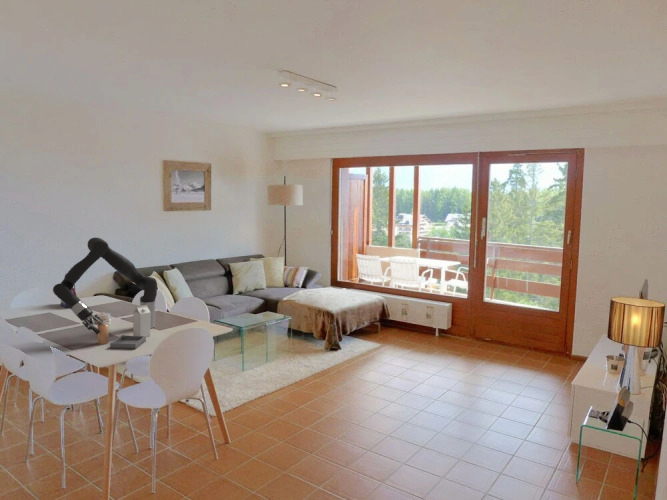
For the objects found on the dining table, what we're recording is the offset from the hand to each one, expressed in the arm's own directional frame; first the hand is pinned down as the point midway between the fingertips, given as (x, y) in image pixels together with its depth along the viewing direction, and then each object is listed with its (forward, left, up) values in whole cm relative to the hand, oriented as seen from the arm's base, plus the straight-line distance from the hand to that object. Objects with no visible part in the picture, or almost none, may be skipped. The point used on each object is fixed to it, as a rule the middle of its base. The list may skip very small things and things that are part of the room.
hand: (102, 331), depth 281 cm
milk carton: (-17, +16, -7) cm, 25 cm away
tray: (+1, +15, -7) cm, 17 cm away
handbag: (-89, -64, -7) cm, 110 cm away
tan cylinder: (0, 0, -7) cm, 7 cm away
